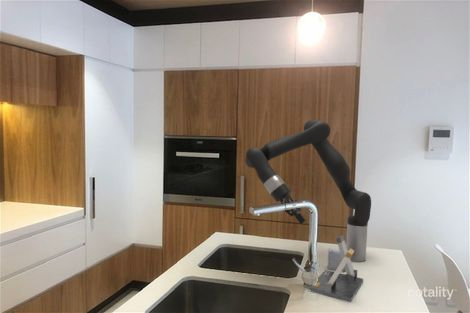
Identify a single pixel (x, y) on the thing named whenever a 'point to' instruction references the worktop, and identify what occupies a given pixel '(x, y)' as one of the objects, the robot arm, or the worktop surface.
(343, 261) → the white rocker
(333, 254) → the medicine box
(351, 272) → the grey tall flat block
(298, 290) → the worktop surface
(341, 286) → the switch panel
